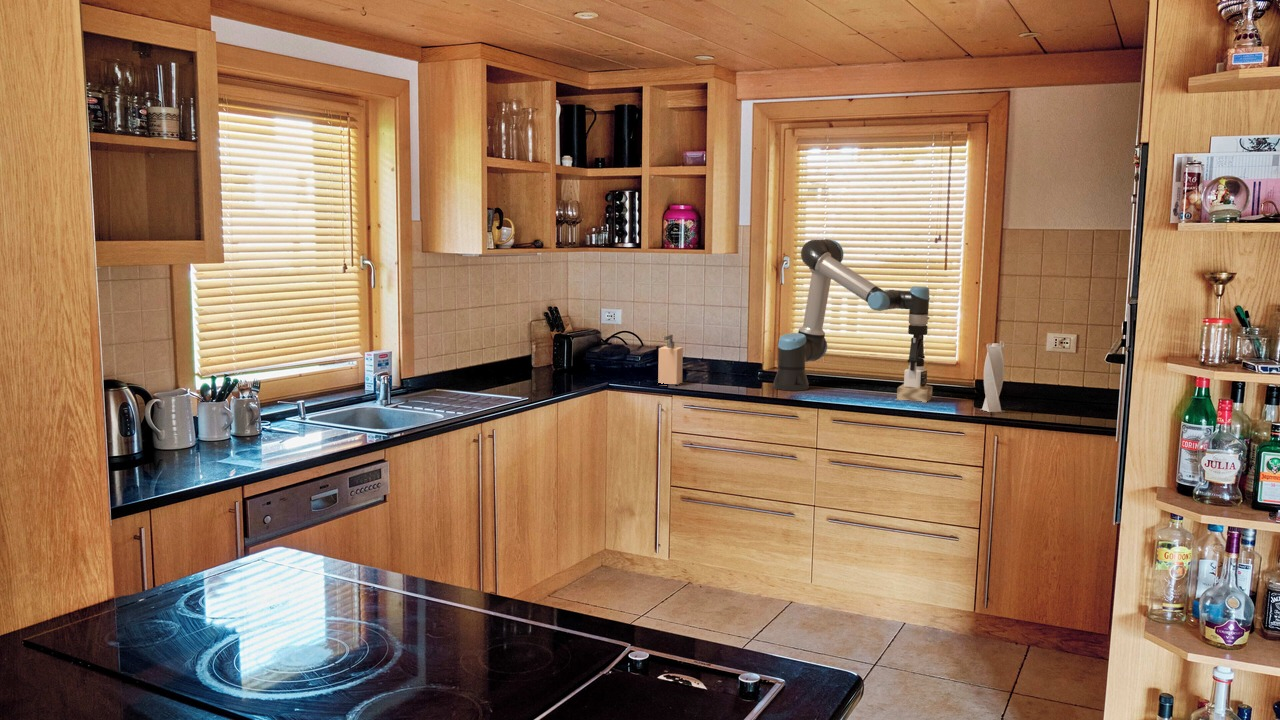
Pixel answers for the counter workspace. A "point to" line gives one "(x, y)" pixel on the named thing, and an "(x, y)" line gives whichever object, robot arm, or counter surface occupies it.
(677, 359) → the soap dispenser
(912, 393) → the base block
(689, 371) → the counter surface
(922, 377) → the medicine bottle
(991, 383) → the skyscraper
